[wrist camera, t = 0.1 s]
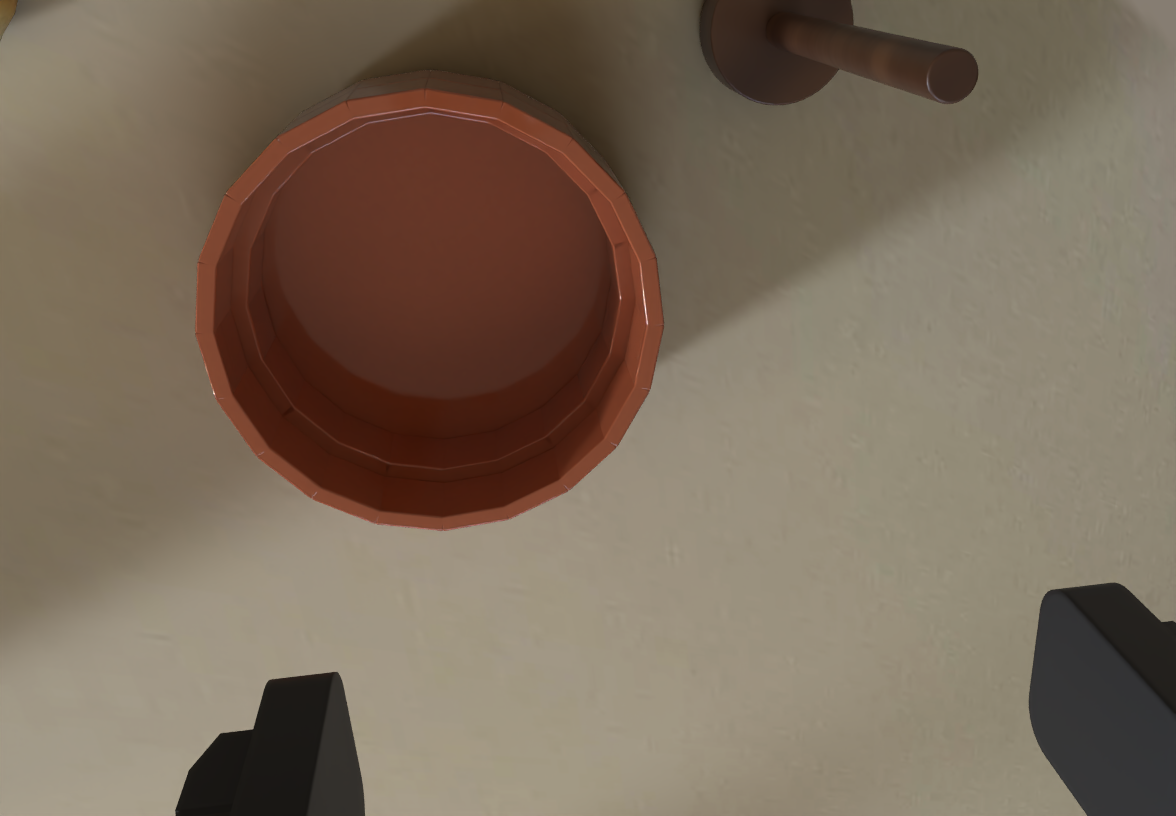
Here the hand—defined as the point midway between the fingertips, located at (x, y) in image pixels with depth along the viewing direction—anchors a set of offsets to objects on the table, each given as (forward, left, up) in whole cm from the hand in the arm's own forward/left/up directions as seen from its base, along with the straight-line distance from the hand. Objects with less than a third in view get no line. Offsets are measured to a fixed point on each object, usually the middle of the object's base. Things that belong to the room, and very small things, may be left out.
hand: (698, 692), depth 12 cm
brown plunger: (+2, +9, -30) cm, 31 cm away
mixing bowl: (0, -6, -30) cm, 30 cm away
